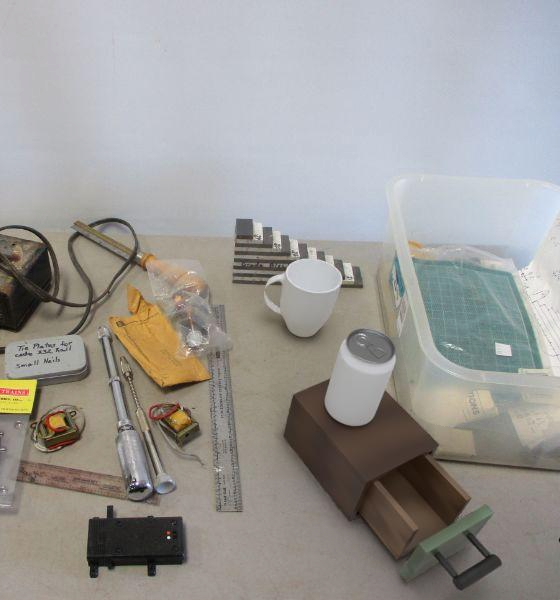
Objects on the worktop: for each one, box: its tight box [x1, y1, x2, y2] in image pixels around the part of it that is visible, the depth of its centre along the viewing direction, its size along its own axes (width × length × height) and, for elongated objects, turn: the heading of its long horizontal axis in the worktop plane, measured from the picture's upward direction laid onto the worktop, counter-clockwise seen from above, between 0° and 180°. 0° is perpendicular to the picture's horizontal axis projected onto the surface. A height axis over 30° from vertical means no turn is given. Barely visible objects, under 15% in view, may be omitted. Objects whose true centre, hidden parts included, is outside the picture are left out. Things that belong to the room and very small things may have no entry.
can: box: [325, 327, 397, 426], centre depth 73 cm, size 6×6×12 cm
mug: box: [263, 258, 343, 338], centre depth 98 cm, size 12×9×12 cm
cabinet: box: [282, 377, 440, 522], centre depth 79 cm, size 15×12×10 cm
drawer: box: [358, 453, 503, 591], centre depth 71 cm, size 18×10×8 cm, turn 27°
